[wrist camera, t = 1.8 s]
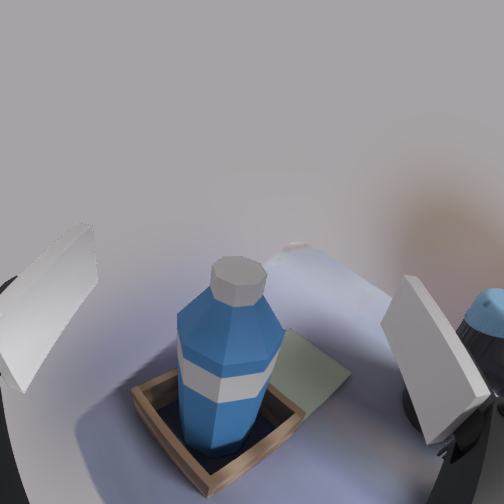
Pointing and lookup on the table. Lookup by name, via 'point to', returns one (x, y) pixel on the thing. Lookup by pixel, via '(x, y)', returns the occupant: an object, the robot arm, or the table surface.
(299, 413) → the wooden frame
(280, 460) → the table surface
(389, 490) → the table surface
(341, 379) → the mat
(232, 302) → the water bottle
